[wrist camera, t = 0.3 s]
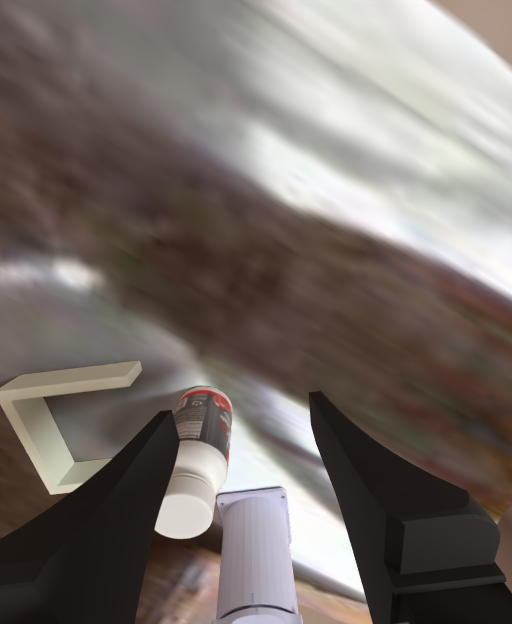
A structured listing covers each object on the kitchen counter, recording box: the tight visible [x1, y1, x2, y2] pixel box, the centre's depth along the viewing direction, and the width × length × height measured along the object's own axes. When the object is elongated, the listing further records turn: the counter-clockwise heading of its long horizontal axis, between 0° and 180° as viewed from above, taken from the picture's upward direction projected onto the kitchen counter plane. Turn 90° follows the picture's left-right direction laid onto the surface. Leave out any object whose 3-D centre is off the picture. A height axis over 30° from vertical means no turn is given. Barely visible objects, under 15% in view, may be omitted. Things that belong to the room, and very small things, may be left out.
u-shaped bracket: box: [0, 360, 142, 495], centre depth 23 cm, size 12×11×2 cm
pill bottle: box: [154, 386, 232, 539], centre depth 19 cm, size 5×5×10 cm
